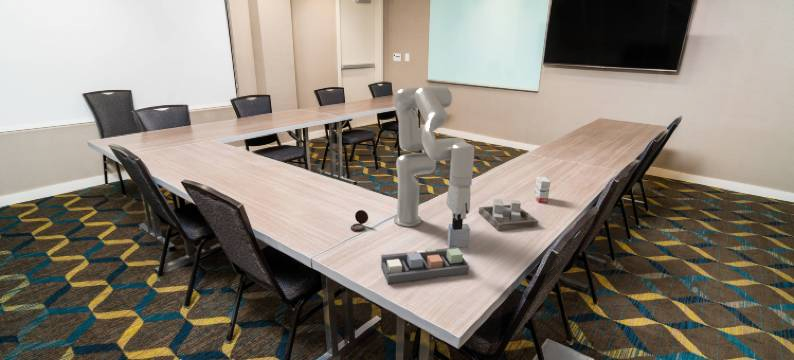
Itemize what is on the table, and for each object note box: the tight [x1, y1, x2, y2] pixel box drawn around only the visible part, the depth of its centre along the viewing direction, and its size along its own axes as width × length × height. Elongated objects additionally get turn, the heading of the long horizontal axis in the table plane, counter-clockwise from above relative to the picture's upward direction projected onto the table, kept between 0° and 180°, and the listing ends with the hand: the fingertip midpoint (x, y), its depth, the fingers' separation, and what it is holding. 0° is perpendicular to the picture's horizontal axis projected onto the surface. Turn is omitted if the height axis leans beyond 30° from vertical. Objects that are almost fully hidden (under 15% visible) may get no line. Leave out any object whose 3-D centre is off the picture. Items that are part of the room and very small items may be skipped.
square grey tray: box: [478, 204, 539, 232], centre depth 187 cm, size 20×20×3 cm
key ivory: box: [387, 259, 402, 274], centre depth 141 cm, size 4×4×3 cm
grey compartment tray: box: [380, 247, 470, 285], centre depth 143 cm, size 11×30×5 cm, turn 104°
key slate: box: [407, 253, 423, 268], centre depth 142 cm, size 4×4×3 cm
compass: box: [350, 209, 369, 232], centre depth 174 cm, size 8×8×7 cm
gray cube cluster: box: [491, 198, 522, 223], centre depth 186 cm, size 12×12×8 cm
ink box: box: [533, 176, 552, 204], centre depth 210 cm, size 9×5×12 cm, turn 179°
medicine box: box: [447, 223, 471, 248], centre depth 162 cm, size 8×4×9 cm, turn 92°
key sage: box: [446, 247, 464, 263], centre depth 145 cm, size 4×4×3 cm
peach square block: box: [427, 255, 443, 269], centre depth 144 cm, size 4×4×3 cm
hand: (457, 228), depth 142 cm, fingers closed
